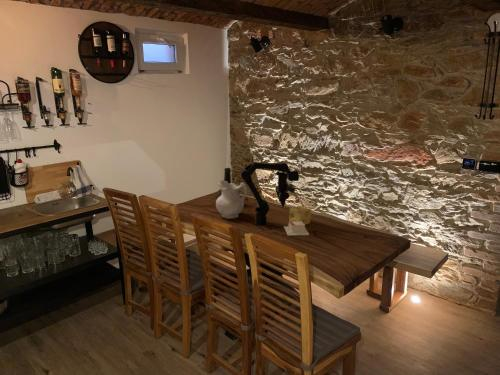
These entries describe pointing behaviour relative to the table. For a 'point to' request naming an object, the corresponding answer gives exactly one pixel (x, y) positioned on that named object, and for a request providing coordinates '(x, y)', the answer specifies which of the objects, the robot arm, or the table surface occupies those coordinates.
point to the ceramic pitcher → (230, 199)
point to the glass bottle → (226, 178)
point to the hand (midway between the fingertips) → (281, 204)
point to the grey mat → (295, 232)
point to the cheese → (300, 214)
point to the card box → (296, 226)
